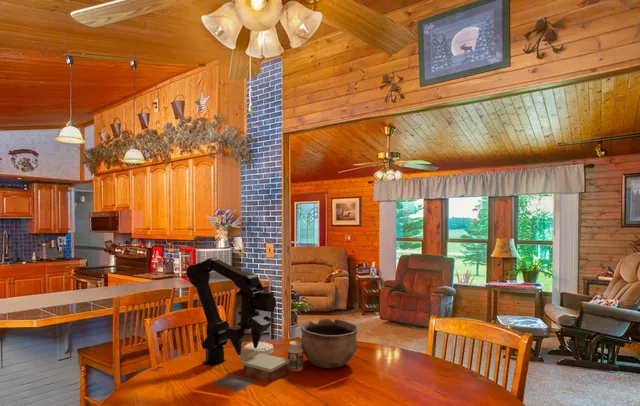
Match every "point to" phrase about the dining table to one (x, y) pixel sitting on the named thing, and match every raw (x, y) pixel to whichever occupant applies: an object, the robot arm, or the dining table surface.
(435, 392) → the dining table surface
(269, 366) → the lid
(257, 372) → the tub
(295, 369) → the pill bottle
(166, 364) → the dining table surface
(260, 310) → the robot arm
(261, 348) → the mooncake
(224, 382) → the mat
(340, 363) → the ceramic bowl
